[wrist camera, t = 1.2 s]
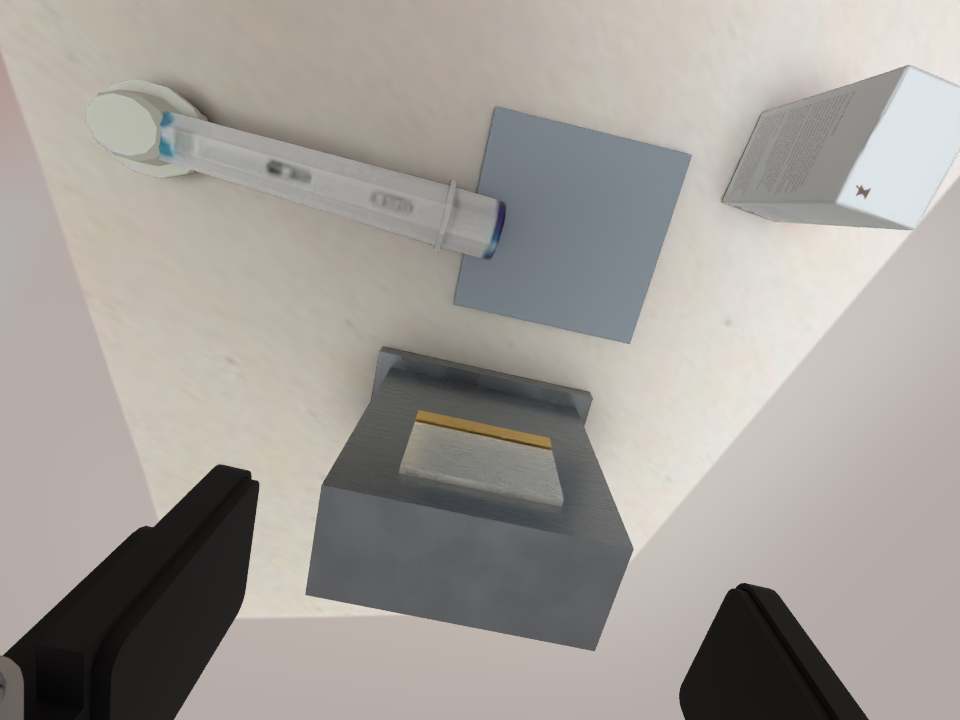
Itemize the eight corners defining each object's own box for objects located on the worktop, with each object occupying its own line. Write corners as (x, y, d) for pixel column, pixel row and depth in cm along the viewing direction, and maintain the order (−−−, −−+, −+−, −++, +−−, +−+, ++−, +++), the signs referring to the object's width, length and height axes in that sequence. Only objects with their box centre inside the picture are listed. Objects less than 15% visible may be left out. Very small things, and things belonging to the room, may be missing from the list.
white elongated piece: (489, 276, 31) (44, 156, 27) (480, 260, 38) (117, 161, 34) (514, 190, 30) (45, 49, 26) (501, 188, 36) (122, 75, 32)
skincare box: (776, 223, 35) (915, 235, 23) (719, 202, 34) (832, 205, 23) (821, 131, 33) (996, 96, 22) (761, 108, 33) (907, 60, 21)
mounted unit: (382, 346, 38) (301, 460, 22) (589, 392, 39) (662, 534, 22) (366, 441, 40) (281, 607, 24) (561, 482, 41) (608, 670, 25)
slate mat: (495, 108, 33) (495, 106, 32) (687, 155, 34) (692, 154, 33) (454, 301, 37) (453, 304, 36) (626, 340, 38) (629, 343, 37)
